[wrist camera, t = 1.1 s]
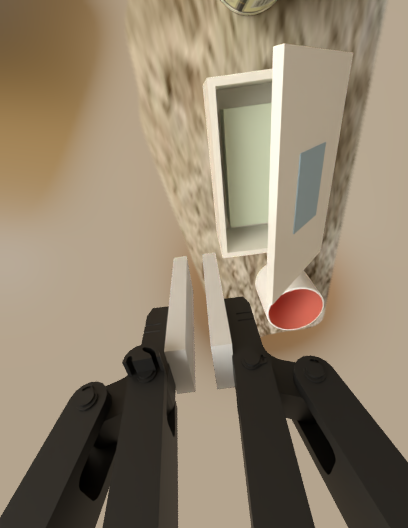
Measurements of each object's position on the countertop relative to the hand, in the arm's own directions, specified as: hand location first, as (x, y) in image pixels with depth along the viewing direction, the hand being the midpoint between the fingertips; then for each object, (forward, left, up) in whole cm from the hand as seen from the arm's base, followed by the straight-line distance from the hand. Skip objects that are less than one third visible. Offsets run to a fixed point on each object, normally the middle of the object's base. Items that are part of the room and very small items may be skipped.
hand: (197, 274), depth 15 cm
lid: (-7, +10, -14) cm, 18 cm away
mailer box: (-6, +8, -28) cm, 30 cm away
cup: (+10, +25, -29) cm, 40 cm away
